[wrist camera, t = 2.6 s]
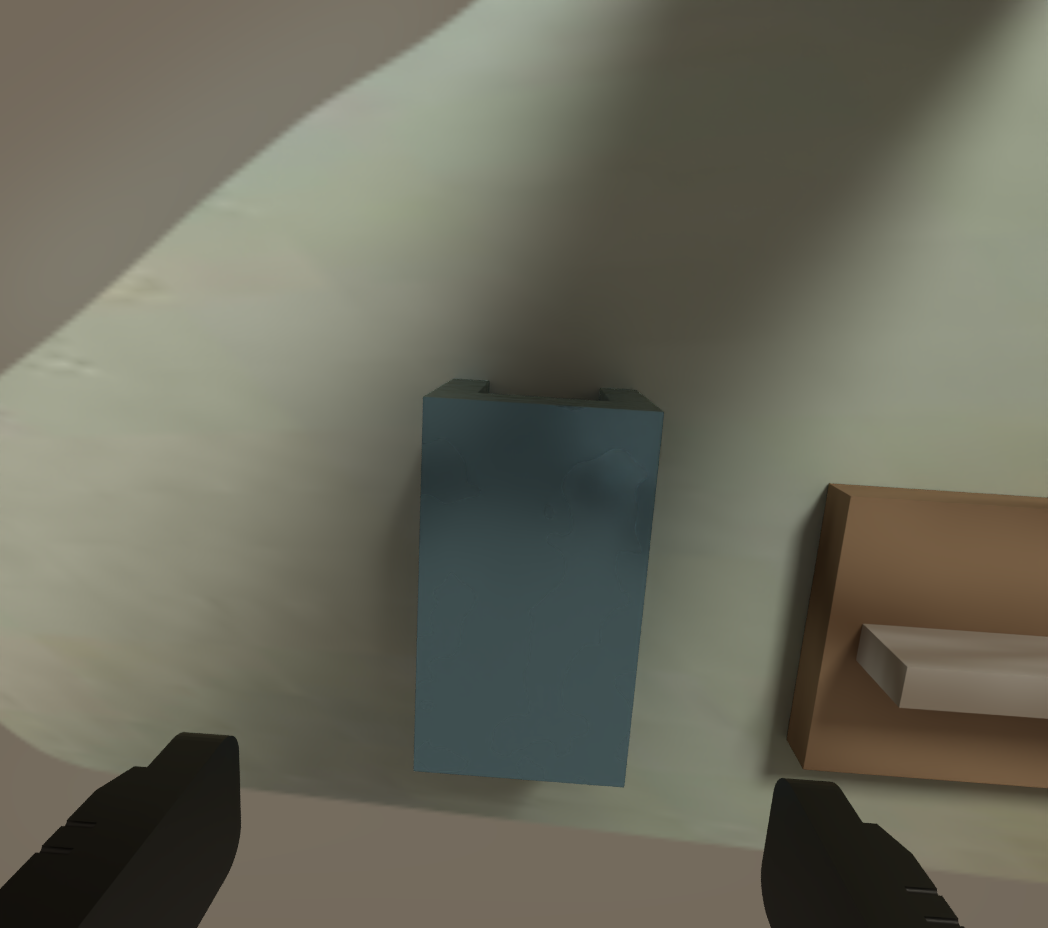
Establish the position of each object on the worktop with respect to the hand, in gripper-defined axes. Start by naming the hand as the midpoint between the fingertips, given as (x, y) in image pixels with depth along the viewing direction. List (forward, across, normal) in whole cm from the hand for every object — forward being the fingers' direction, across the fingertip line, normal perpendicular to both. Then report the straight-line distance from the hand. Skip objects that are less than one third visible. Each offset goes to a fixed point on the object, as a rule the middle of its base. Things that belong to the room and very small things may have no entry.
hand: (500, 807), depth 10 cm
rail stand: (+12, -15, +2) cm, 19 cm away
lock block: (+12, 0, 0) cm, 12 cm away
